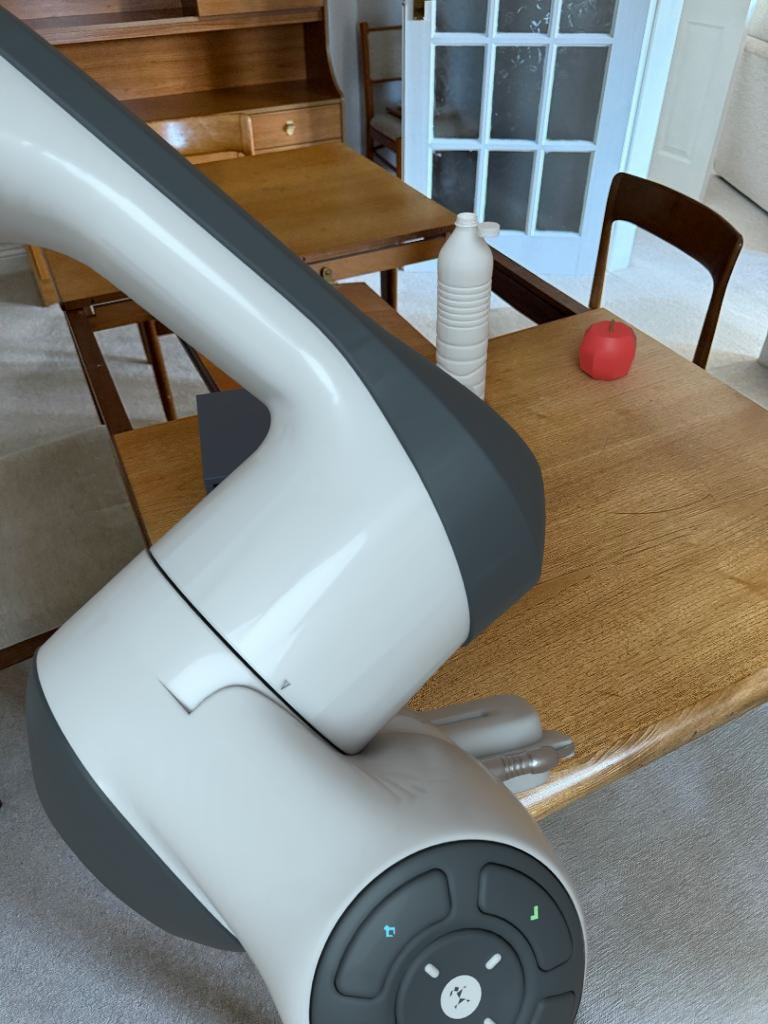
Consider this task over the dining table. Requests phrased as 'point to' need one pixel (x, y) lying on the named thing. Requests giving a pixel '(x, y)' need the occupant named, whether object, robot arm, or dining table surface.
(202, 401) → the cabinet
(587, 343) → the apple
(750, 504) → the dining table surface
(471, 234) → the water bottle
